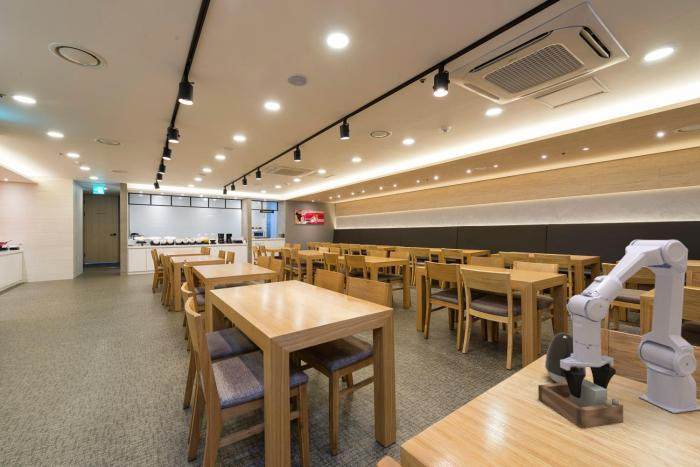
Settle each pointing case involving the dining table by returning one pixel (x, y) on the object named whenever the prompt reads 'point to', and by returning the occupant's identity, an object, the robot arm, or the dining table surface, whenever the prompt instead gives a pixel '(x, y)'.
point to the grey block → (590, 395)
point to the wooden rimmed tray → (581, 416)
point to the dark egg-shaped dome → (559, 356)
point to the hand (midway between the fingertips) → (587, 394)
